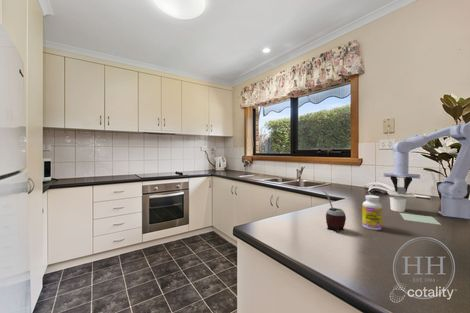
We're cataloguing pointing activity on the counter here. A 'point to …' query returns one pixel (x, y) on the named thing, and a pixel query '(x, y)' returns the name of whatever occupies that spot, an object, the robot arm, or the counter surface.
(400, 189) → the lid
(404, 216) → the mat
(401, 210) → the shot glass
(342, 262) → the counter surface
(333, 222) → the mate gourd
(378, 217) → the supplement bottle
